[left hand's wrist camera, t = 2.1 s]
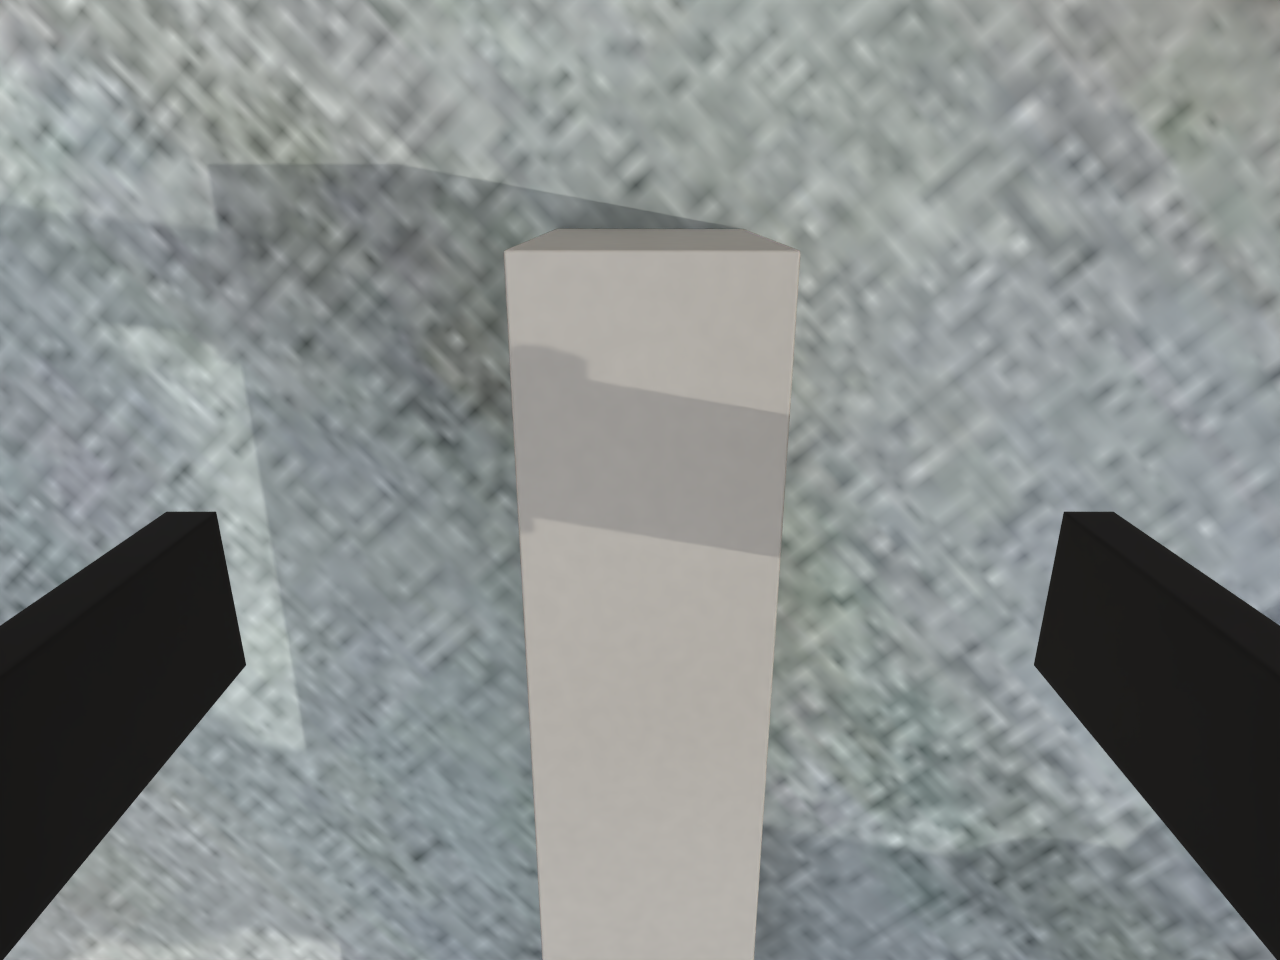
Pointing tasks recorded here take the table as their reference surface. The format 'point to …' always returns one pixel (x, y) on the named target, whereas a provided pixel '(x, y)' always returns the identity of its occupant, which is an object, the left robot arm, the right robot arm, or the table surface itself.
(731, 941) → the beam
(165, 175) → the table surface
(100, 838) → the left robot arm
